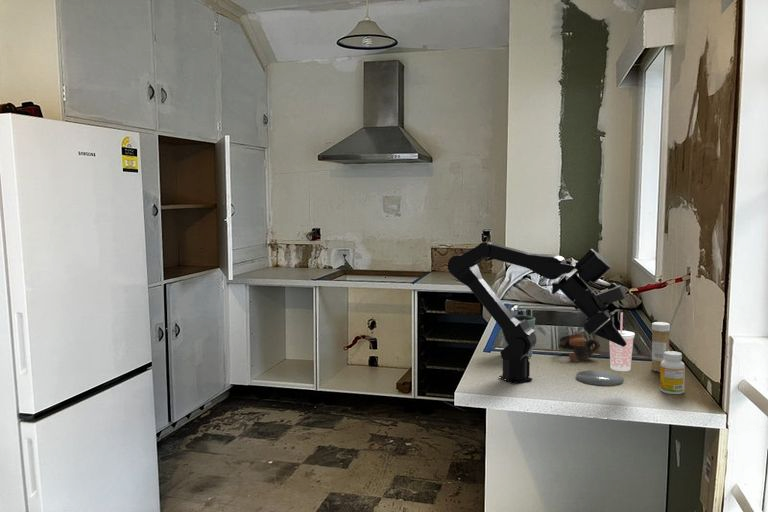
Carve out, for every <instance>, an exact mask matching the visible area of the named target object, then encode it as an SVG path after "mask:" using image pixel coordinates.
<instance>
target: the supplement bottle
mask: <svg viewBox="0 0 768 512" xmlns="http://www.w3.org/2000/svg"><path fill="white" fill-rule="evenodd" d="M664 358H665V360H663V361H662V362H661V368H660V372H659V373H660V376H659V377H660V378H659V382H660V383H659V385H660V386H659V390H660V391H661V392H663V393H665V394H668V395H681V394H684V393H685V374H686V373H685V369H686V367H685V363H684V362H683V361H682V359H683V355H682V352H679V351H675V350H674V351H673V350H672V351H671V350H669V351H666V352H664Z"/></svg>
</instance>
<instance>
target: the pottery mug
mask: <svg viewBox="0 0 768 512" xmlns="http://www.w3.org/2000/svg"><path fill="white" fill-rule="evenodd" d="M559 342H560V343H559V344H558V347H557V348H558V349H560V348H561V349H562V350H570V351H573V352H572V353H568V357H569V361H570V362H575V361H589V359H590V357H592V355H594V354H596V353H597V352H598V351H599V350H600V348H601V344H600V342H599V340H598V339H595V338H590V339H586V338H585V335H584V334H580V333H576V334H575V333H574V334H569V335H565V336H562V337H560V339H559ZM592 345H594V347H593V348H592Z"/></svg>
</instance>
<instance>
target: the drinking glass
mask: <svg viewBox="0 0 768 512" xmlns="http://www.w3.org/2000/svg"><path fill="white" fill-rule="evenodd" d="M512 315H513V317H514V318H515V319H517V320H518V321H520V322H522V321H523V320H526V321H527V322H528V324H529V326H530V327H531V328H532V329H534V330H535V326H536V325H535V324H536V317H534V316H532V315H524V314H512ZM502 341H503V349H504V348H506V347H507V346H508V344H507V342H506V340H505V338H504V335H503V334H502ZM533 348H534V347H533ZM533 348H532V349H531V350H530V351H529V353H528V354H527V355H526V356H528V357H530V356H532V357H533V353H534V351H533V350H534V349H533Z"/></svg>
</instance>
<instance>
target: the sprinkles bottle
mask: <svg viewBox="0 0 768 512" xmlns="http://www.w3.org/2000/svg"><path fill="white" fill-rule="evenodd" d="M651 331H652V334H651V335H652V336H651V337H652V338H651V371H653V370H654V371H653V372H655V371H658V372H657V373H660V368H661V362H662V361H663V360H665V358H664V352H666V351H670V331H671V324H670V323H668V322H665V321H655V322H652V323H651Z"/></svg>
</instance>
